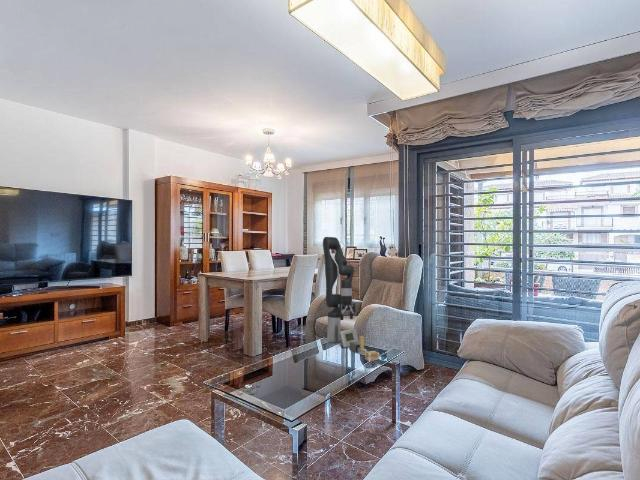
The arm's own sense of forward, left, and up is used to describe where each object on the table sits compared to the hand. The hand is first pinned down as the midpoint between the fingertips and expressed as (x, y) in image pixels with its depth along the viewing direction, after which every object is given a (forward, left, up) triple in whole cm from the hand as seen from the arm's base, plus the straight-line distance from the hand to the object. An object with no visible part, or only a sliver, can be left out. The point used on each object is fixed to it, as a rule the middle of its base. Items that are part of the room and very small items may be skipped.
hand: (346, 319), depth 239 cm
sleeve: (+9, +3, -19) cm, 21 cm away
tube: (+11, +3, -18) cm, 22 cm away
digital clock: (-4, +4, -19) cm, 20 cm away
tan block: (+29, +3, -19) cm, 35 cm away
